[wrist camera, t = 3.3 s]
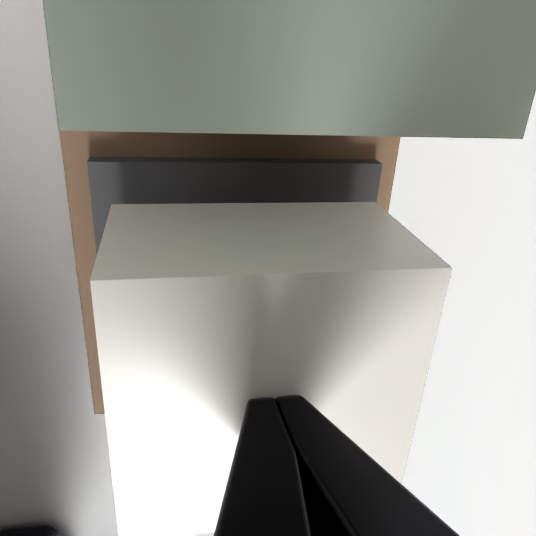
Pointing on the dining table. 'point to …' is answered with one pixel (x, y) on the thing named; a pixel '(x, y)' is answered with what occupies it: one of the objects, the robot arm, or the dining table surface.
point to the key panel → (208, 183)
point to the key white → (253, 339)
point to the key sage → (294, 66)
